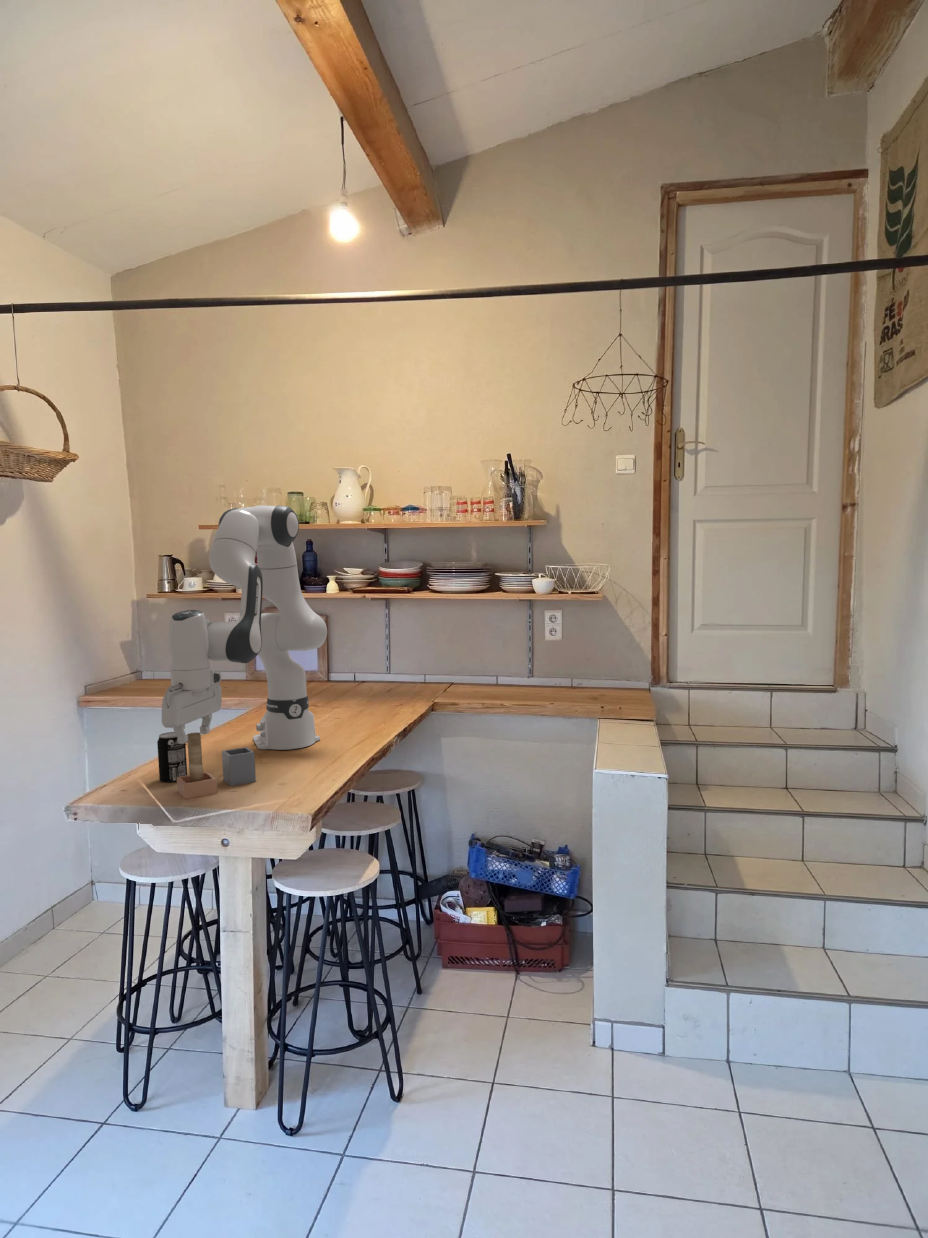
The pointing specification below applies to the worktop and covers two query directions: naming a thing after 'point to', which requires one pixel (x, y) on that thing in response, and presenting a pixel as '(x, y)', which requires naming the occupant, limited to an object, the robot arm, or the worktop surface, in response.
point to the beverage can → (171, 758)
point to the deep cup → (238, 766)
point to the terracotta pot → (196, 786)
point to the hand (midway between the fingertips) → (194, 738)
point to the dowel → (195, 757)
